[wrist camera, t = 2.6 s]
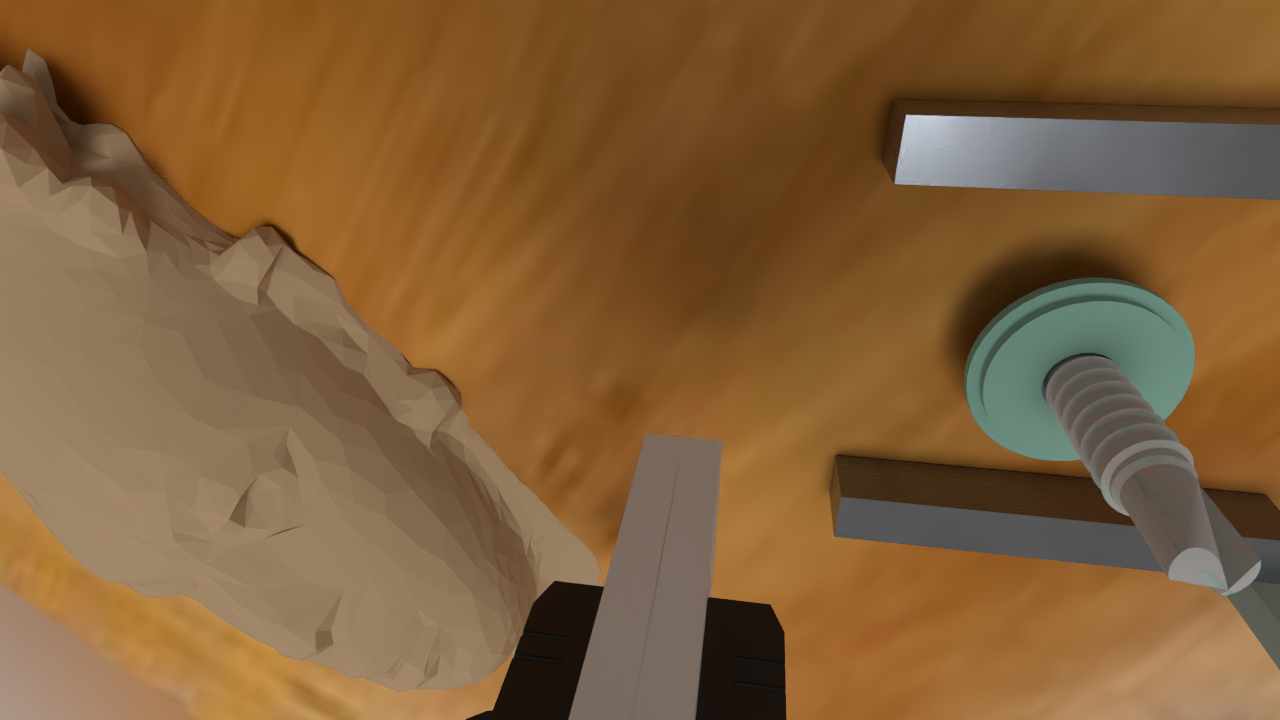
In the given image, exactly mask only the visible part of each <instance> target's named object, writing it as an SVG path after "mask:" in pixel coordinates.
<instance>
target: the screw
mask: <svg viewBox="0 0 1280 720" xmlns="http://www.w3.org/2000/svg"><path fill="white" fill-rule="evenodd" d="M1194 364H1195V348H1194V342H1193V339H1192V335H1191V332H1190V330H1189V328H1188V326H1187V324H1186V323H1185V321H1184V319H1183V318H1182V317H1181V316H1180V314H1179V313H1178V312H1177V311H1176V310H1175V309H1174V308H1173V307H1172V306H1171V305H1170V304H1169V303H1168V302H1166V301H1165V300H1164V299H1162V298H1161V297H1160V296H1159V295H1157V294H1156V293H1154V292H1152V291H1150V290H1148V289H1146V288H1145V287H1143V286H1140V285H1137V284H1134V283H1131V282H1128V281H1124V280H1118V279H1112V278H1094V277H1090V278H1080V279H1071V280H1067V281H1062V282H1058V283H1054V284H1051V285H1048V286H1045V287H1042V288H1040V289H1037V290H1035V291H1033V292H1031V293H1029V294H1027V295H1025V296H1023V297H1021V298H1019V299H1018V300H1016V301H1015V302H1013V303H1012V304H1010V305H1009V306H1007V307H1006V308H1004V309H1003V310H1002V311H1001V312H1000V313H999V314H997V315H996V316H995V317H994V318H993V319H992V320H991V321H990V322H989V323H988V324H987V326H986V327H985V328H984V329H983V330H982V332H981V333H980V335H979V336H978V338H977V339H976V341H975V342H974V344H973V346H972V348H971V351H970V353H969V355H968V358H967V362H966V366H965V369H964V391H965V396H966V399H967V403H968V406H969V408H970V411H971V413H972V415H973V417H974V418H975V420H976V422H977V424H978V425H979V426H980V427H981V429H982V430H983V431H984V432H985V433H986V434H987V435H988V436H989V437H990V438H991V439H993V440H994V441H995V442H996V443H998V444H1000V445H1001V446H1003V447H1005V448H1006V449H1008V450H1010V451H1013V452H1015V453H1018V454H1020V455H1023V456H1027V457H1031V458H1035V459H1042V460H1050V461H1071V460H1081V459H1082V462H1083V464H1084V466H1085V467H1086V468H1087V469H1088V471H1089V472H1090V473H1091V476H1092V478H1093V480H1094V482H1095V483H1096V485H1097V486H1098V487H1099V488H1100V489H1101V491H1102V494H1103V497H1104V499H1105V500H1106V502H1107V503H1108V504H1109V505H1110V506H1111V507H1112V508H1113V509H1115V510H1116V511H1118V512H1120V513H1122V514H1124V515H1127V516H1130V517H1131V519H1132V520H1133V522H1134V524H1135V525H1136V527H1137V529H1138V530H1139V532H1140V533H1141V535H1142V537H1143V538H1144V540H1145V541H1146V543H1147V545H1148V546H1149V548H1150V550H1151V551H1152V553H1153V554H1154V556H1155V558H1156V559H1157V561H1158V563H1159V564H1160V566H1161V567H1162V569H1163V571H1164V572H1165V574H1166V575H1167V577H1168V579H1170V580H1176V581H1181V582H1187V583H1192V584H1198V585H1204V586H1209V587H1210V588H1211V589H1213V590H1214V591H1216V592H1217V593H1218V594H1220V595H1230V594H1233V593H1236V592H1238V591H1240V590H1242V589H1243V588H1245V587H1246V586H1248V585H1249V584H1250V583H1251V582H1252V581H1253V580H1254V579H1255V578H1256V577H1257V575H1258V574H1259V571H1260V568H1261V560H1260V558H1259V557H1258V556H1257V555H1256V554H1255V552H1254V551H1253V550H1252V549H1251V548H1250V546H1249V545H1248V544H1247V543H1246V541H1245V540H1244V539H1243V538H1242V537H1241V535H1240V534H1239V533H1238V532H1237V530H1236V529H1235V528H1234V527H1233V526H1232V524H1231V523H1230V522H1229V521H1228V520H1227V518H1226V517H1225V516H1224V515H1223V513H1222V512H1221V511H1220V510H1219V509H1218V507H1217V506H1216V505H1215V504H1214V502H1213V501H1212V500H1211V499H1210V498H1209V496H1208V495H1207V494H1206V493H1205V492H1204V490H1203V489H1202V488H1201V487H1200V485H1199V483H1198V475H1197V472H1196V470H1195V468H1194V459H1193V456H1192V454H1191V453H1190V451H1189V450H1188V449H1187V448H1186V447H1185V446H1183V445H1181V444H1180V442H1179V440H1178V437H1177V436H1176V435H1175V433H1174V432H1173V431H1171V430H1170V429H1169V428H1167V427H1166V424H1165V422H1164V420H1165V419H1166V418H1167V417H1168V416H1169V415H1170V414H1171V413H1172V412H1173V410H1174V409H1175V408H1176V406H1177V405H1178V404H1179V403H1180V401H1181V400H1182V398H1183V396H1184V394H1185V392H1186V391H1187V389H1188V387H1189V384H1190V381H1191V378H1192V375H1193V371H1194Z"/></svg>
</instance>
